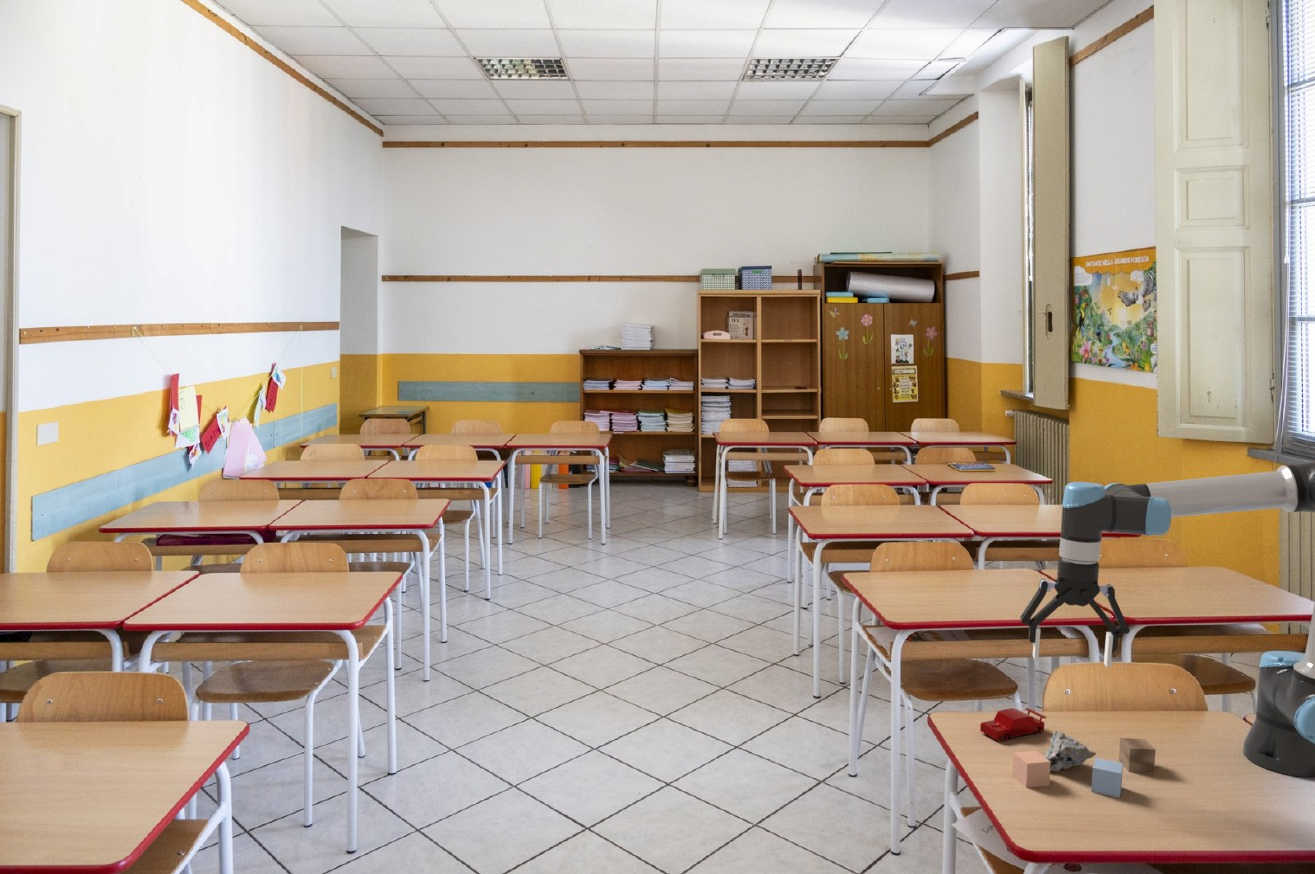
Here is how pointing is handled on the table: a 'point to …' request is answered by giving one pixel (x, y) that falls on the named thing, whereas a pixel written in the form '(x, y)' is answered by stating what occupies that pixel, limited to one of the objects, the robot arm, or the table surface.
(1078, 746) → the mineral specimen
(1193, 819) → the table surface
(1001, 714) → the toy car
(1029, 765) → the salmon-pink cube
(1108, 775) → the slate-blue cube
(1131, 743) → the walnut cube
